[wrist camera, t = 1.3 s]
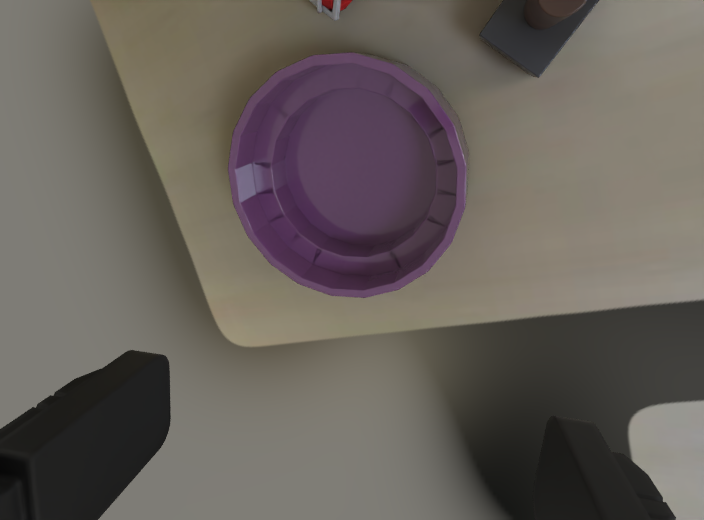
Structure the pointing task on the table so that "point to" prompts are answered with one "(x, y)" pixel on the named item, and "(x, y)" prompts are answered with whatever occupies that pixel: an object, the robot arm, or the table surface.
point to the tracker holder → (331, 7)
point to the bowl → (349, 173)
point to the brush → (534, 30)
